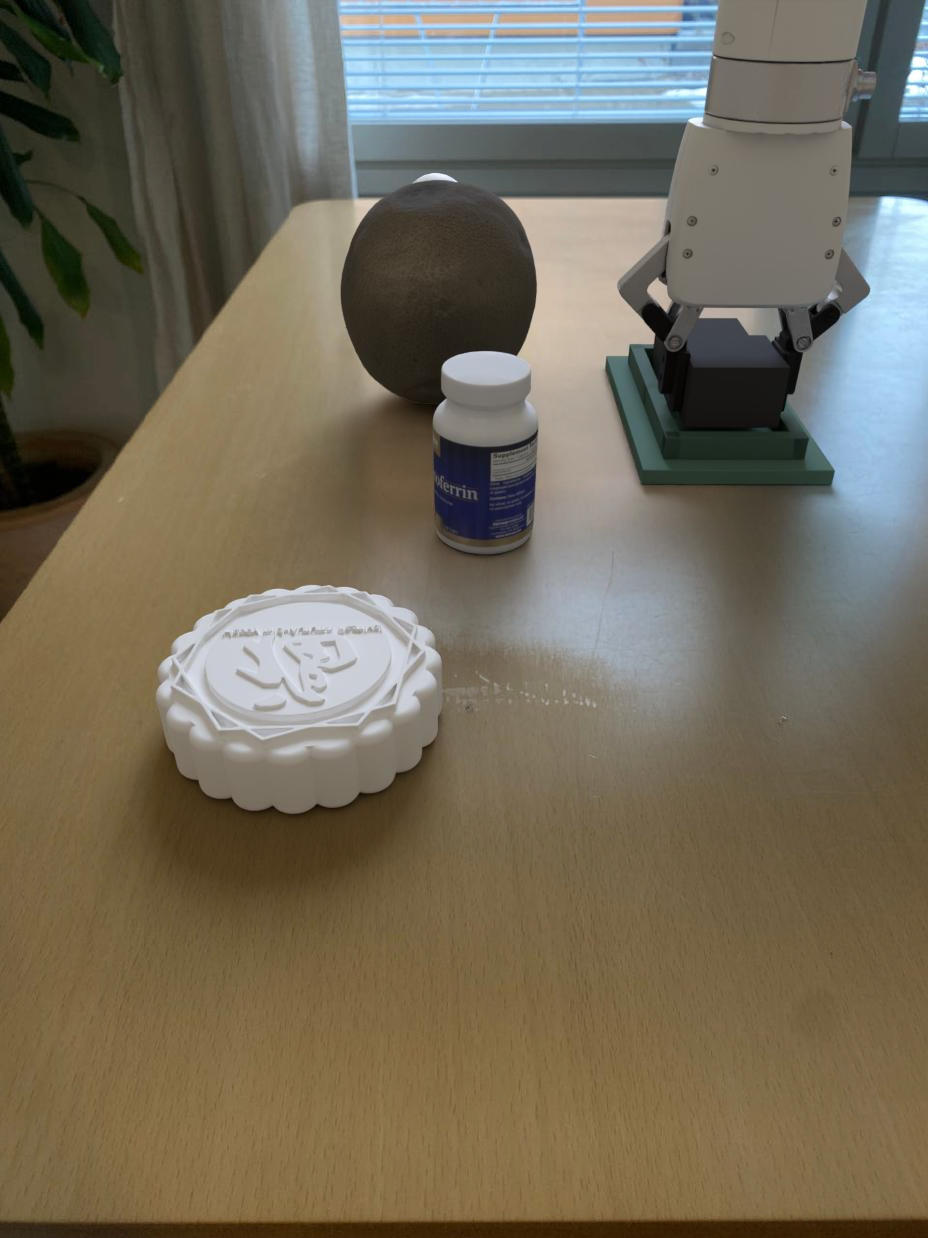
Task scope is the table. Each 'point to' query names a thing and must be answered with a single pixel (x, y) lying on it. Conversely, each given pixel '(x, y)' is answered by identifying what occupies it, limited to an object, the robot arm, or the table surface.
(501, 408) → the pill bottle
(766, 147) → the robot arm
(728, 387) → the pad
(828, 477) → the base mat
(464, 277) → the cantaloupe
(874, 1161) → the table surface
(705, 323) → the black square block
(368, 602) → the mooncake
